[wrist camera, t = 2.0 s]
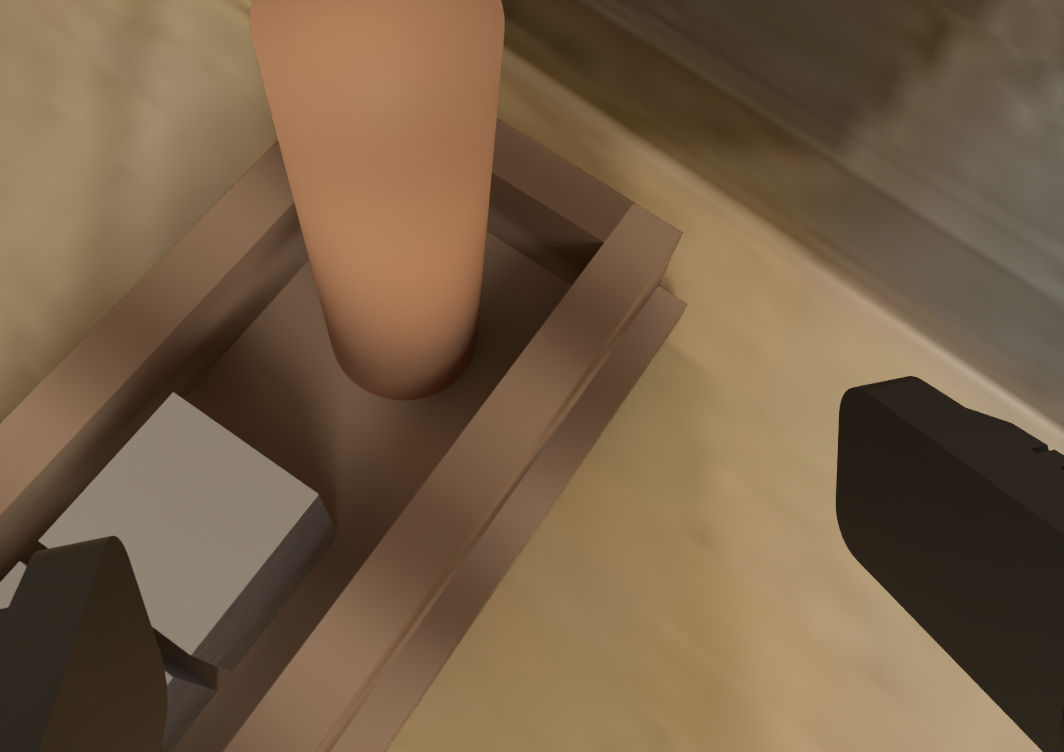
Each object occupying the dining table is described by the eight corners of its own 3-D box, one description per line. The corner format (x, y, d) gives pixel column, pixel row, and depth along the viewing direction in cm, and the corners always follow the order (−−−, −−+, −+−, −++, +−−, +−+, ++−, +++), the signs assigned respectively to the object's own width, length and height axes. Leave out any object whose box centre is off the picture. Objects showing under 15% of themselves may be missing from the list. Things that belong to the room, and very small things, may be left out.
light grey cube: (213, 447, 24) (173, 391, 21) (337, 535, 24) (318, 494, 20) (102, 575, 23) (38, 540, 19) (231, 672, 22) (190, 655, 19)
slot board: (356, 115, 30) (344, 24, 26) (679, 318, 28) (715, 252, 24) (-161, 660, 23) (-279, 641, 19) (231, 976, 21) (187, 1023, 17)
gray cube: (88, 592, 23) (19, 561, 19) (217, 690, 22) (173, 677, 18) (-41, 740, 21) (-141, 737, 18) (95, 849, 21) (20, 869, 17)
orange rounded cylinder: (390, 243, 27) (355, -114, 16) (504, 318, 26) (552, 1, 15) (300, 346, 26) (195, 33, 14) (420, 428, 25) (405, 166, 14)
